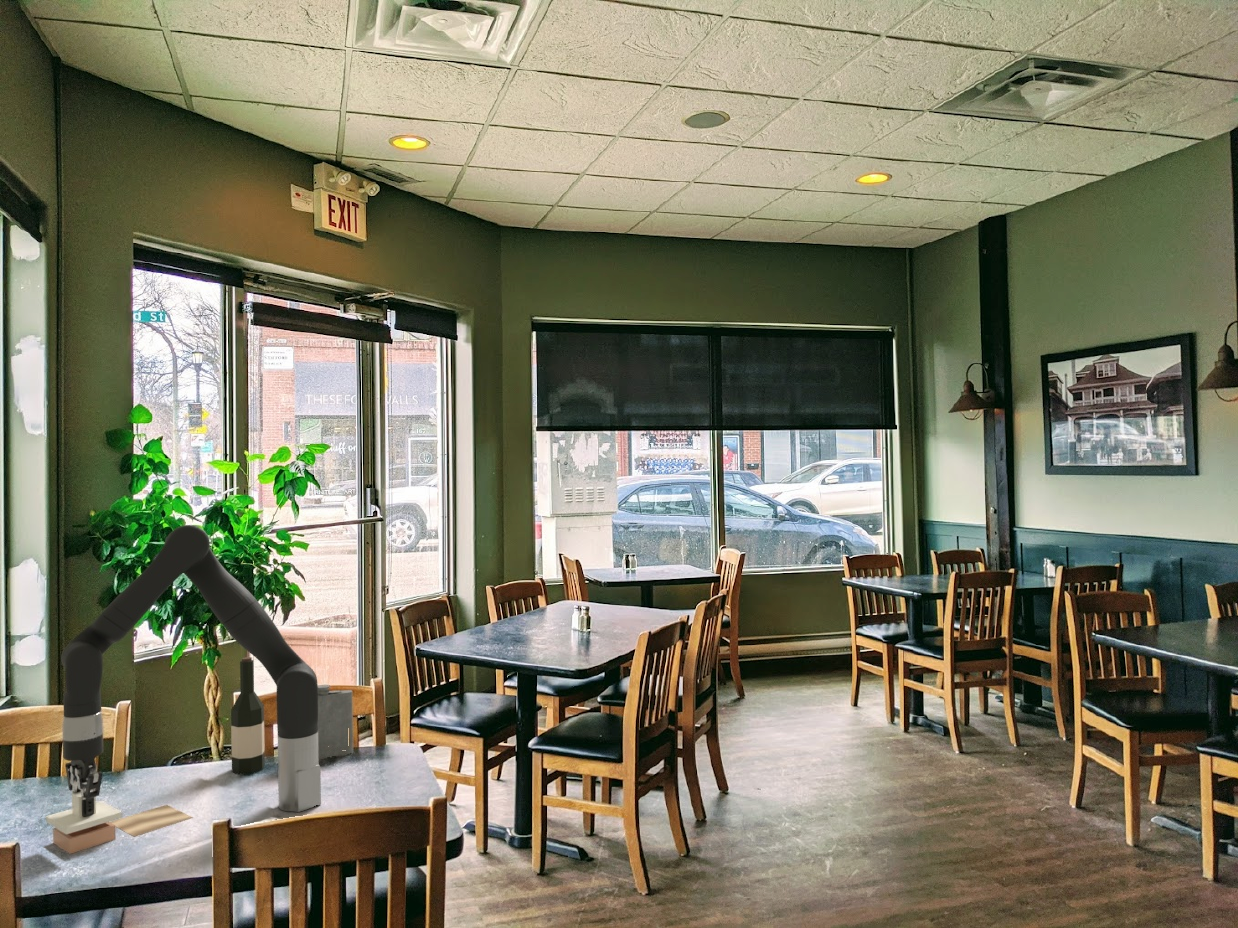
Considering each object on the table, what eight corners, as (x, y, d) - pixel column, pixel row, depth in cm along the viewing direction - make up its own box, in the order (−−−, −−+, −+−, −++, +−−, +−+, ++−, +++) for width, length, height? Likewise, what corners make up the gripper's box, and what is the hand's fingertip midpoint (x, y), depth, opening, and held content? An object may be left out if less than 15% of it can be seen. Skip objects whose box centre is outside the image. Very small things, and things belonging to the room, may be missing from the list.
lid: (122, 817, 194) (121, 791, 194) (66, 834, 185) (65, 806, 185) (100, 805, 201) (100, 780, 201) (45, 821, 192) (45, 795, 192)
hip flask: (296, 764, 244) (295, 691, 244) (293, 760, 247) (292, 688, 247) (354, 753, 253) (353, 682, 252) (350, 749, 256) (349, 680, 256)
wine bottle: (253, 775, 236) (251, 661, 236) (224, 773, 237) (223, 660, 237) (271, 764, 244) (269, 655, 244) (244, 762, 246) (242, 654, 245)
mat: (193, 821, 205) (193, 817, 205) (134, 841, 195) (134, 836, 195) (166, 808, 213) (166, 804, 213) (108, 826, 203) (108, 822, 203)
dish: (115, 843, 194) (115, 825, 194) (70, 858, 187) (69, 839, 187) (98, 833, 200) (97, 815, 199) (53, 847, 192) (52, 828, 192)
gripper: (115, 735, 192) (116, 815, 192) (88, 724, 200) (89, 800, 201) (77, 744, 186) (78, 827, 186) (50, 732, 195) (52, 811, 195)
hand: (84, 812), depth 193 cm, fingers closed on lid, 3 cm apart
